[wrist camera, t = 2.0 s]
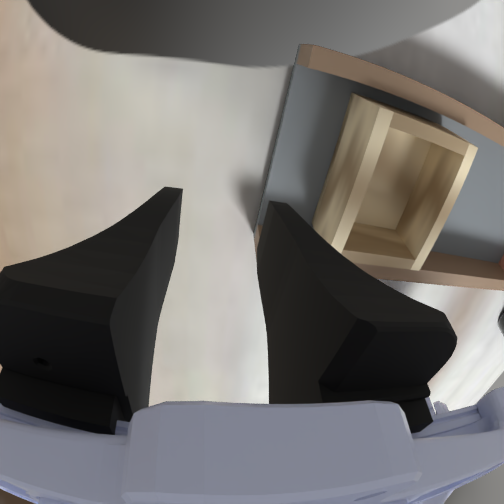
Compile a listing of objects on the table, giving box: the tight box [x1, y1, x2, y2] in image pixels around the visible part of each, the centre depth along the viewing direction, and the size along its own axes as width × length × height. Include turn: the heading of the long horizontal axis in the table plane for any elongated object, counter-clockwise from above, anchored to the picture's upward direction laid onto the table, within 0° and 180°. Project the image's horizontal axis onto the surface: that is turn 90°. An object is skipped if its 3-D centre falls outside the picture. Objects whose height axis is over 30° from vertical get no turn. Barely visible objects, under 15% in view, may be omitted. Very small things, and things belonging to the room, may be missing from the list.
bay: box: [254, 44, 504, 291], centre depth 19 cm, size 13×29×5 cm, turn 79°
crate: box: [312, 93, 478, 271], centre depth 18 cm, size 9×7×4 cm
